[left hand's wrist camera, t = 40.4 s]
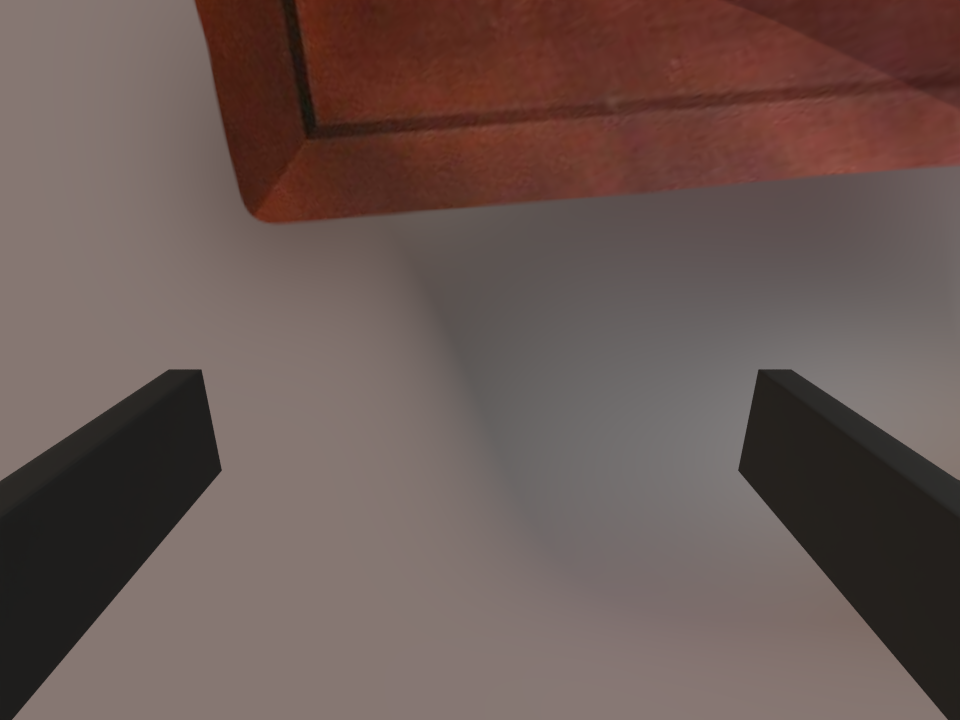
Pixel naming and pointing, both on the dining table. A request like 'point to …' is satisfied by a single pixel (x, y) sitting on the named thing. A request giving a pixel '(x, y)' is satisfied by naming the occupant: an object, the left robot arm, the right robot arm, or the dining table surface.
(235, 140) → the dining table surface
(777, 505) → the left robot arm
